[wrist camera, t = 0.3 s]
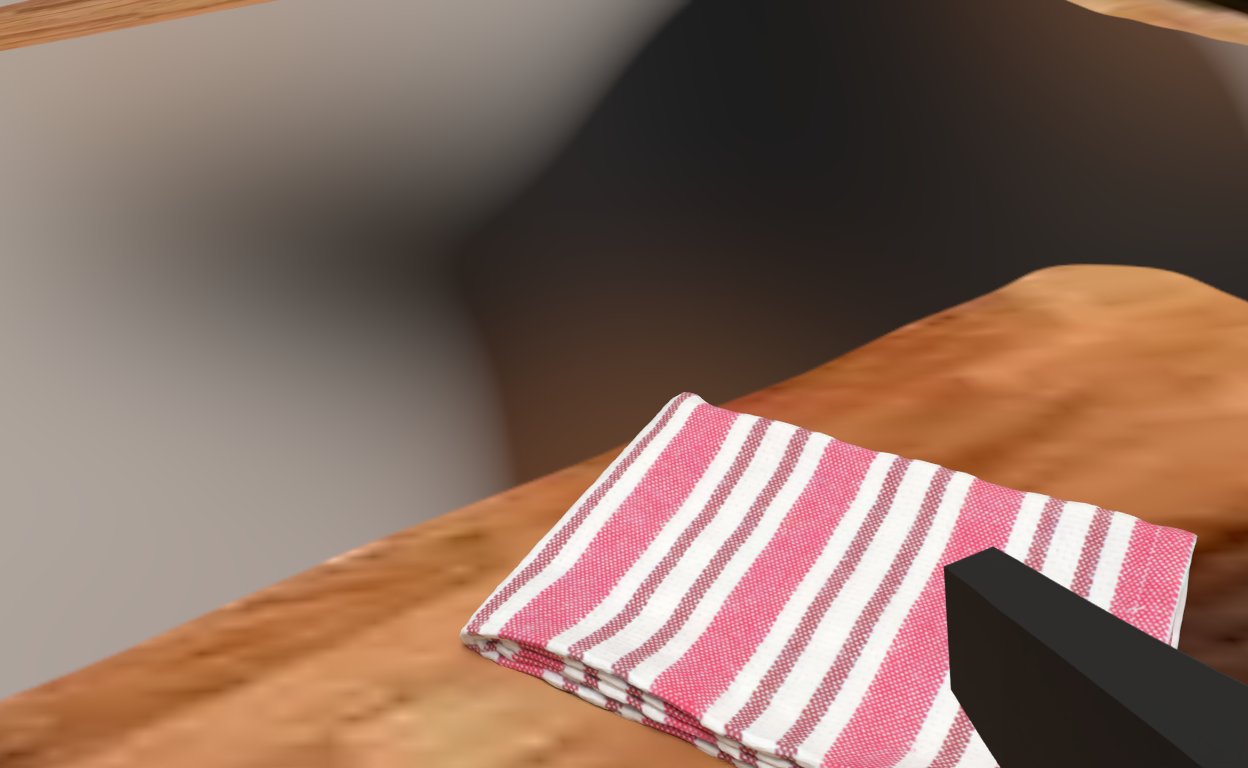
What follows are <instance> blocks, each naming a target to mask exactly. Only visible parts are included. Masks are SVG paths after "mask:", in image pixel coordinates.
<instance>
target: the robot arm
mask: <svg viewBox="0 0 1248 768" xmlns="http://www.w3.org/2000/svg"><path fill="white" fill-rule="evenodd" d="M944 582H945V599H946V617H947V634H948V652H949V669H950V686H951V691H952V692H953V694H954V696H955V697H956V699H957V700H958V702H959V704H960V705H961V707H962V709H963V710H964V712H965V713H966V715H967V717H968V718H969V720H970V721H971V723H972V725H973V726H974V728H975V729H976V731H977V733H978V734H979V736H980V737H981V739H982V740H983V742H984V743H985V745H986V747H987V748H988V750H989V751H990V753H991V754H992V756H993V757H994V759H995V760H996V762H997V763H998V765H999V766H1000V768H1248V686H1247V685H1245V684H1243V683H1241V682H1239V681H1237V680H1235V679H1233V678H1231V677H1229V676H1227V675H1225V674H1223V673H1221V672H1219V671H1217V670H1215V669H1214V668H1212V667H1210V666H1208V665H1206V664H1204V663H1202V662H1200V661H1198V660H1196V659H1195V658H1193V657H1191V656H1189V655H1187V654H1185V653H1183V652H1181V651H1179V650H1178V649H1176V648H1174V647H1172V646H1170V645H1168V644H1166V643H1164V642H1162V641H1160V640H1159V639H1157V638H1155V637H1153V636H1151V635H1149V634H1147V633H1145V632H1144V631H1142V630H1140V629H1138V628H1136V627H1135V626H1133V625H1131V624H1129V623H1127V622H1125V621H1124V620H1122V619H1120V618H1118V617H1117V616H1115V615H1113V614H1111V613H1109V612H1108V611H1106V610H1104V609H1102V608H1101V607H1099V606H1097V605H1095V604H1093V603H1092V602H1090V601H1088V600H1086V599H1085V598H1083V597H1081V596H1079V595H1078V594H1076V593H1074V592H1072V591H1071V590H1069V589H1067V588H1065V587H1064V586H1062V585H1060V584H1059V583H1057V582H1055V581H1053V580H1052V579H1050V578H1048V577H1046V576H1045V575H1043V574H1041V573H1039V572H1038V571H1036V570H1034V569H1033V568H1031V567H1029V566H1027V565H1026V564H1024V563H1022V562H1020V561H1019V560H1017V559H1015V558H1013V557H1012V556H1010V555H1008V554H1006V553H1005V552H1003V551H1001V550H999V549H997V548H995V547H990V548H988V549H985V550H983V551H980V552H978V553H975V554H973V555H970V556H968V557H966V558H963V559H961V560H958V561H956V562H953V563H951V564H948V565H946V566H944Z"/></svg>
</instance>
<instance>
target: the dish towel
mask: <svg viewBox="0 0 1248 768" xmlns="http://www.w3.org/2000/svg"><path fill="white" fill-rule="evenodd" d="M1196 539H1197V535H1195V534H1194V533H1191V532H1187V531H1184V530H1181V529H1177V528H1171V527H1164V526H1158V525H1153V524H1149V523H1147V522H1144V521H1142V520H1140V519H1138V518H1136V517H1134V516H1131V515H1128V514H1124V513H1121V512H1117V511H1109V510H1104V509H1102V508H1099V507H1097V506H1093V505H1090V504H1086V503H1079V502H1071V501H1062V500H1059V499H1056V498H1053V497H1050V496H1046V495H1041V494H1036V493H1030V492H1022V491H1017V490H1013V489H1009V488H1006V487H1002V486H998V485H995V484H992V483H989V482H985V481H982V480H980V479H978V478H977V477H975V476H972V475H969V474H967V473H963V472H958V471H953V470H949V469H946V468H944V467H942V466H940V465H936V464H932V463H928V462H924V461H920V460H910V459H906V458H903V457H901V456H898V455H894V454H889V453H883V452H875V451H871V450H867V449H864V448H861V447H858V446H854V445H851V444H847V443H845V442H842V441H839V440H837V439H835V438H833V437H830V436H828V435H825V434H822V433H818V432H813V431H809V430H806V429H803V428H800V427H797V426H794V425H791V424H788V423H784V422H779V421H774V420H769V419H765V418H762V417H758V416H753V415H749V414H742V413H737V412H733V411H729V410H726V409H722V408H718V407H714V406H712V405H710V404H708V403H707V402H705V401H704V400H703V399H702V398H701V397H699V396H698V395H696V394H693V393H682V394H680V395H678V396H676V397H675V398H673V399H671V400H670V401H669V402H668V403H667V404H666V405H665V406H664V407H663V409H662V410H661V411H660V412H659V413H658V414H657V415H656V417H655V418H654V419H653V420H652V421H651V422H650V423H649V424H648V425H647V426H646V427H645V428H644V429H643V430H642V431H641V432H640V433H639V434H638V435H637V436H636V438H635V439H634V440H633V441H632V442H631V443H630V444H629V445H628V446H627V447H626V448H625V449H624V451H623V452H622V453H621V454H620V455H619V456H618V457H617V459H616V460H615V461H613V462H612V463H611V464H610V466H609V467H608V468H607V469H606V470H605V471H604V472H603V473H602V475H601V476H600V477H599V478H598V479H597V480H596V482H595V483H594V484H593V485H592V486H591V487H590V488H589V489H587V490H586V492H585V493H584V494H583V495H582V496H581V497H580V498H579V499H578V501H577V502H576V503H575V504H574V505H573V506H572V507H571V508H570V509H569V510H568V511H567V512H566V514H565V515H564V516H563V517H562V518H561V519H560V520H559V521H558V523H557V524H556V525H555V526H554V527H553V528H552V529H551V530H550V531H549V532H548V533H547V534H546V535H545V536H544V537H543V538H542V539H541V540H540V541H539V542H538V543H537V544H536V546H535V547H534V548H533V549H532V550H531V552H530V553H529V554H528V555H527V556H526V557H525V558H524V559H523V560H522V562H521V563H520V564H519V565H518V567H517V568H515V570H514V571H513V572H512V573H511V574H510V575H509V576H508V577H507V578H506V579H505V580H504V581H503V582H502V583H501V584H500V585H498V586H497V588H496V589H495V591H494V592H493V593H492V594H491V595H490V596H489V597H488V598H487V599H486V601H485V602H484V603H483V604H482V605H481V606H480V607H479V608H478V609H477V611H476V612H475V613H474V614H473V615H472V617H471V618H470V620H469V621H468V623H467V625H466V626H465V627H464V628H462V630H461V633H460V635H459V636H460V639H461V641H462V642H463V643H464V644H465V645H466V646H467V647H468V648H470V649H471V650H473V651H476V652H478V653H479V654H481V655H482V656H483V657H485V658H488V659H491V660H493V661H494V662H496V663H497V664H498V665H503V666H505V667H508V668H512V669H515V670H517V671H520V672H524V673H527V674H530V675H533V676H536V677H539V678H542V679H544V680H545V681H547V682H548V683H550V684H551V685H553V686H554V687H557V688H559V689H562V690H565V691H569V692H570V693H572V694H575V695H576V696H578V697H580V698H581V699H583V700H585V701H587V702H590V703H592V704H594V705H596V706H599V707H601V708H604V709H606V710H610V711H612V712H614V713H616V714H618V715H620V716H622V717H623V718H625V719H628V720H631V721H636V722H639V723H641V724H643V725H646V726H650V727H652V728H655V729H657V730H660V731H662V732H665V733H668V734H670V735H673V736H676V737H678V738H681V739H683V740H685V741H686V742H689V743H691V744H693V745H694V746H695V747H696V748H698V749H700V750H702V751H703V752H705V753H707V754H709V755H711V756H714V757H717V758H720V759H724V760H726V761H728V762H730V763H732V764H734V765H735V766H736V767H738V768H1000V766H999V765H998V763H997V762H996V760H995V759H994V757H993V756H992V754H991V753H990V751H989V750H988V748H987V747H986V745H985V743H984V742H983V740H982V739H981V737H980V736H979V734H978V733H977V731H976V729H975V728H974V726H973V725H972V723H971V721H970V720H969V718H968V717H967V715H966V713H965V712H964V710H963V709H962V707H961V705H960V704H959V702H958V700H957V699H956V697H955V696H954V694H953V692H952V691H951V686H950V669H949V652H948V634H947V617H946V599H945V582H944V566H946V565H948V564H951V563H953V562H956V561H958V560H961V559H963V558H966V557H968V556H970V555H973V554H975V553H978V552H980V551H983V550H985V549H988V548H990V547H995V548H997V549H999V550H1001V551H1003V552H1005V553H1006V554H1008V555H1010V556H1012V557H1013V558H1015V559H1017V560H1019V561H1020V562H1022V563H1024V564H1026V565H1027V566H1029V567H1031V568H1033V569H1034V570H1036V571H1038V572H1039V573H1041V574H1043V575H1045V576H1046V577H1048V578H1050V579H1052V580H1053V581H1055V582H1057V583H1059V584H1060V585H1062V586H1064V587H1065V588H1067V589H1069V590H1071V591H1072V592H1074V593H1076V594H1078V595H1079V596H1081V597H1083V598H1085V599H1086V600H1088V601H1090V602H1092V603H1093V604H1095V605H1097V606H1099V607H1101V608H1102V609H1104V610H1106V611H1108V612H1109V613H1111V614H1113V615H1115V616H1117V617H1118V618H1120V619H1122V620H1124V621H1125V622H1127V623H1129V624H1131V625H1133V626H1135V627H1136V628H1138V629H1140V630H1142V631H1144V632H1145V633H1147V634H1149V635H1151V636H1153V637H1155V638H1157V639H1159V640H1160V641H1162V642H1164V643H1166V644H1168V645H1170V646H1172V647H1174V648H1176V649H1177V647H1178V641H1179V633H1180V627H1181V623H1182V618H1183V612H1184V606H1185V601H1186V595H1187V585H1188V576H1189V568H1190V564H1191V558H1192V554H1193V550H1194V547H1195V544H1196Z"/></svg>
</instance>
